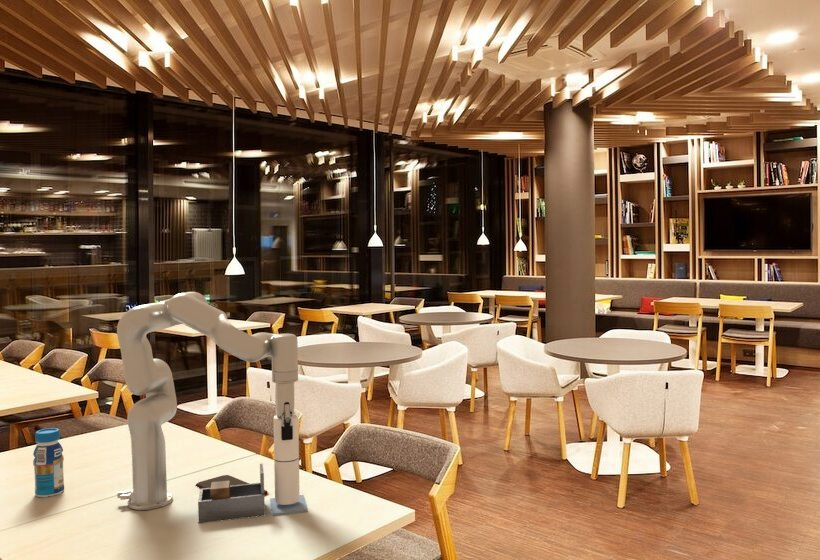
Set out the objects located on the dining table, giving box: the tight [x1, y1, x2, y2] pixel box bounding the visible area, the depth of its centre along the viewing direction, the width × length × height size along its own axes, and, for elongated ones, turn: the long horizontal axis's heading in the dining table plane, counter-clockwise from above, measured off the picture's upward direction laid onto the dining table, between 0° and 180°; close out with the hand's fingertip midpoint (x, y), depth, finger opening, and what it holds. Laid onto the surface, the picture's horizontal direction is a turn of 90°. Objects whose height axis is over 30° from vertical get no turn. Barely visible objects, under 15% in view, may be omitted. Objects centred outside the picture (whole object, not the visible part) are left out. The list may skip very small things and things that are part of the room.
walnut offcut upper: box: [210, 481, 230, 500], centre depth 189 cm, size 5×6×4 cm
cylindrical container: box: [273, 413, 301, 505], centre depth 193 cm, size 7×7×25 cm
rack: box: [197, 463, 266, 524], centre depth 189 cm, size 18×11×12 cm, turn 105°
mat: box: [269, 494, 308, 516], centre depth 194 cm, size 10×12×1 cm
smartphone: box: [195, 474, 268, 496], centre depth 208 cm, size 12×2×25 cm
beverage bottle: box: [32, 427, 65, 498], centre depth 207 cm, size 8×8×20 cm
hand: (286, 435), depth 193 cm, fingers closed on cylindrical container, 7 cm apart
